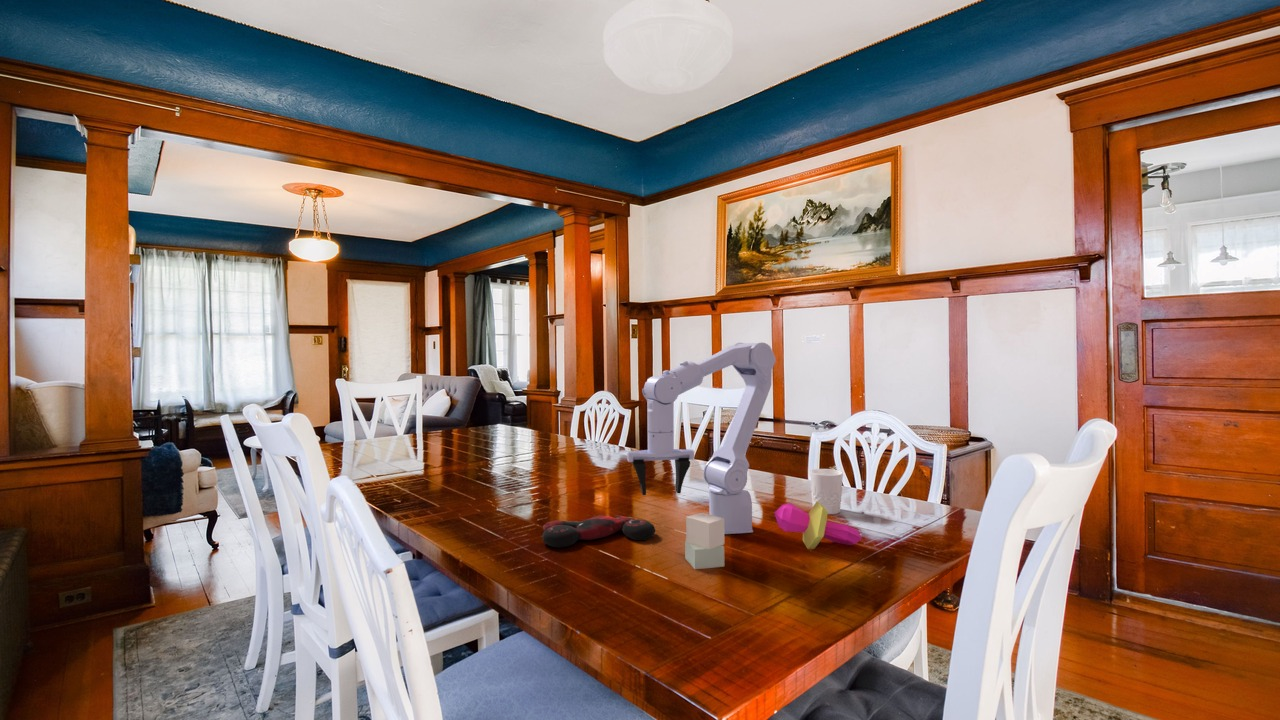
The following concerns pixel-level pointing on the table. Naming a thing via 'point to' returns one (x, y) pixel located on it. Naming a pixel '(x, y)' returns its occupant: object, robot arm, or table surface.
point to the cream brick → (705, 530)
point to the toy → (814, 525)
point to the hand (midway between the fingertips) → (660, 493)
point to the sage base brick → (704, 556)
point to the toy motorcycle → (595, 529)
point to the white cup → (827, 489)
